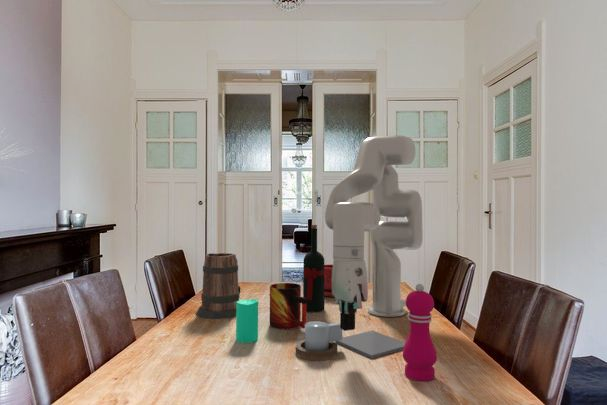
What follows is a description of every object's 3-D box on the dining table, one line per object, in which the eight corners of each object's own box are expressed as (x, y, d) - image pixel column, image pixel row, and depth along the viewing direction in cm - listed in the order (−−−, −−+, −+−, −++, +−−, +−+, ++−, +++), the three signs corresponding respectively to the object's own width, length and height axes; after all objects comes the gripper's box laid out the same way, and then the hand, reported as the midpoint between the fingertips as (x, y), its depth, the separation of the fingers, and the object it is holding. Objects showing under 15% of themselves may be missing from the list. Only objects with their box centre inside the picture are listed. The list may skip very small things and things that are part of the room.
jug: (311, 358, 98) (311, 329, 98) (300, 350, 103) (301, 323, 104) (346, 352, 102) (346, 324, 102) (335, 344, 108) (335, 318, 108)
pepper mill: (398, 369, 92) (398, 281, 92) (429, 368, 93) (429, 280, 93) (409, 383, 85) (409, 287, 85) (442, 382, 85) (442, 287, 85)
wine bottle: (297, 312, 139) (298, 225, 139) (306, 305, 149) (306, 224, 149) (319, 314, 137) (320, 226, 137) (327, 307, 146) (327, 224, 147)
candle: (261, 336, 114) (261, 294, 114) (252, 343, 108) (252, 298, 108) (242, 334, 116) (242, 292, 116) (232, 341, 110) (232, 297, 110)
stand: (325, 343, 109) (325, 336, 109) (345, 356, 99) (345, 349, 99) (289, 348, 105) (289, 341, 105) (306, 363, 95) (306, 355, 95)
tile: (372, 333, 118) (372, 330, 118) (410, 347, 106) (410, 344, 106) (335, 342, 110) (335, 339, 110) (371, 358, 98) (371, 355, 98)
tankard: (233, 321, 129) (233, 258, 129) (185, 317, 133) (185, 256, 133) (258, 303, 152) (258, 250, 152) (217, 300, 156) (217, 248, 156)
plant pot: (351, 298, 161) (351, 268, 161) (318, 298, 161) (318, 268, 162) (348, 291, 174) (348, 263, 174) (317, 291, 175) (317, 263, 175)
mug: (305, 333, 118) (305, 291, 118) (263, 326, 123) (264, 287, 123) (317, 324, 126) (318, 285, 126) (278, 318, 132) (278, 281, 132)
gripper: (379, 255, 93) (378, 336, 93) (346, 250, 107) (345, 320, 106) (351, 256, 90) (350, 340, 89) (320, 250, 104) (319, 323, 103)
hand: (347, 329), depth 98 cm, fingers closed
